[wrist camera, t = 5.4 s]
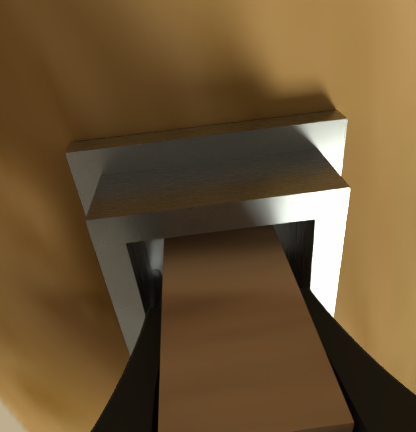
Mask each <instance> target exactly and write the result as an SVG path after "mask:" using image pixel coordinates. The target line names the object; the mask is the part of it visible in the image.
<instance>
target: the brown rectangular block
mask: <svg viewBox="0 0 416 432" xmlns="http://www.w3.org/2000/svg"><path fill="white" fill-rule="evenodd" d="M353 426H354V421H353V418H352V416H351V413H350V411H349V408H348V406H347V404H346V401H345V399H344V396H343V394H342V391H341V389H340V386H339V384H338V382H337V379H336V377H335V374H334V372H333V369H332V367H331V365H330V362H329V360H328V357H327V355H326V352H325V350H324V348H323V345H322V343H321V340H320V338H319V335H318V333H317V331H316V328H315V326H314V323H313V321H312V318H311V316H310V314H309V311H308V309H307V306H306V304H305V301H304V299H303V297H302V294H301V292H300V289H299V287H298V284H297V282H296V280H295V277H294V275H293V272H292V270H291V267H290V265H289V263H288V260H287V258H286V255H285V253H284V250H283V248H282V246H281V243H280V241H279V238H278V236H277V233H276V231H275V228H274V226H273V225H265V226H257V227H249V228H241V229H234V230H226V231H218V232H210V233H202V234H194V235H186V236H178V237H170V238H164V249H163V282H162V315H161V348H160V381H159V414H158V432H352V431H353Z"/></svg>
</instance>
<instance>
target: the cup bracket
mask: <svg viewBox="0 0 416 432" xmlns="http://www.w3.org/2000/svg"><path fill="white" fill-rule="evenodd" d="M346 127H347V118H346V117H345V116H344V115H342V114H341V113H340V112H339V111H338V110H333V111H325V112H317V113H309V114H300V115H292V116H284V117H276V118H267V119H259V120H251V121H243V122H234V123H226V124H218V125H210V126H201V127H193V128H185V129H177V130H168V131H160V132H152V133H144V134H136V135H127V136H119V137H111V138H103V139H94V140H86V141H78V142H71V144H70V145H69V147H68V149H67V151H66V152H65V155H66V158H67V161H68V164H69V167H70V170H71V173H72V176H73V179H74V182H75V185H76V188H77V191H78V194H79V197H80V200H81V203H82V206H83V209H84V212H85V216H86V219H85V222H86V225H87V228H88V231H89V234H90V237H91V240H92V243H93V246H94V249H95V252H96V255H97V258H98V261H99V264H100V267H101V270H102V273H103V276H104V279H105V282H106V285H107V288H108V291H109V294H110V297H111V300H112V303H113V306H114V309H115V312H116V315H117V318H118V321H119V324H120V327H121V330H122V333H123V336H124V339H125V342H126V345H127V348H128V351H129V354H130V356H131V354H132V352H133V349H134V347H135V344H136V342H137V339H138V337H139V334H140V331H141V328H142V326H143V322H144V319H145V316H146V312H147V310H148V309H149V308H155V307H162V282H163V249H164V238H170V237H178V236H186V235H194V234H202V233H210V232H218V231H226V230H234V229H241V228H249V227H257V226H265V225H273V226H274V228H275V231H276V233H277V236H278V238H279V241H280V243H281V246H282V248H283V250H284V253H285V255H286V258H287V260H288V263H289V265H290V267H291V270H292V272H293V275H294V277H295V280H296V282H297V284H298V287H299V289H302V288H308V289H310V290H311V291H312V293H313V294H314V295H315V296H316V298H317V299H318V300H319V301H320V303H321V304H322V305H323V306H324V307H325V309H326V310H327V311H328V312H329V313H330V314H331V315H332V317H334V310H335V302H336V294H337V286H338V279H339V271H340V263H341V256H342V248H343V240H344V232H345V225H346V217H347V209H348V202H349V194H350V187H349V185H348V184H347V183H346V182H345V181H344V179H343V178H342V177H341V172H342V163H343V154H344V145H345V136H346Z"/></svg>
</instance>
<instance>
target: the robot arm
mask: <svg viewBox="0 0 416 432" xmlns="http://www.w3.org/2000/svg"><path fill="white" fill-rule="evenodd" d="M300 292H301V294H302V297H303V299H304V301H305V304H306V306H307V309H308V311H309V314H310V316H311V318H312V321H313V323H314V326H315V328H316V331H317V333H318V335H319V338H320V340H321V343H322V345H323V348H324V350H325V352H326V355H327V357H328V360H329V362H330V365H331V367H332V369H333V372H334V374H335V377H336V379H337V382H338V384H339V386H340V389H341V391H342V394H343V396H344V399H345V401H346V404H347V406H348V408H349V411H350V413H351V416H352V418H353V421H354V426H353V431H352V432H416V395H415V394H414V393H412V392H411V391H410V390H409V389H407V388H406V387H405V386H404V385H403V384H401V383H400V382H399V381H398V380H397V379H395V378H394V377H393V376H392V375H391V374H390V373H388V372H387V371H386V370H385V369H384V368H383V367H382V366H381V365H379V364H378V363H377V362H376V361H375V360H374V359H373V358H372V357H371V356H370V355H369V354H368V353H367V352H366V351H365V350H364V349H363V348H362V347H361V346H360V345H359V344H358V343H357V342H356V341H355V340H354V339H353V338H352V337H351V336H350V335H349V334H348V333H347V332H346V331H345V330H344V329H343V328H342V327H341V326H340V324H339V323H338V322H337V321H336V320H335V319H334V318H333V317H332V315H331V314H330V313H329V312H328V311H327V310H326V309H325V307H324V306H323V305H322V304H321V303H320V301H319V300H318V299H317V298H316V296H315V295H314V294H313V293H312V291H311V290H310V289H308V288H302V289H300ZM161 315H162V307H155V308H149V309H148V310H147V312H146V316H145V319H144V322H143V326H142V328H141V331H140V334H139V337H138V339H137V342H136V344H135V347H134V349H133V352H132V354H131V356H130V358H129V361H128V363H127V365H126V368H125V370H124V372H123V374H122V376H121V378H120V380H119V382H118V384H117V386H116V388H115V390H114V392H113V394H112V396H111V398H110V400H109V401H108V403H107V405H106V407H105V409H104V410H103V412H102V414H101V416H100V417H99V419H98V421H97V422H96V424H95V426H94V427H93V429H92V430H91V432H158V414H159V381H160V348H161Z"/></svg>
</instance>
